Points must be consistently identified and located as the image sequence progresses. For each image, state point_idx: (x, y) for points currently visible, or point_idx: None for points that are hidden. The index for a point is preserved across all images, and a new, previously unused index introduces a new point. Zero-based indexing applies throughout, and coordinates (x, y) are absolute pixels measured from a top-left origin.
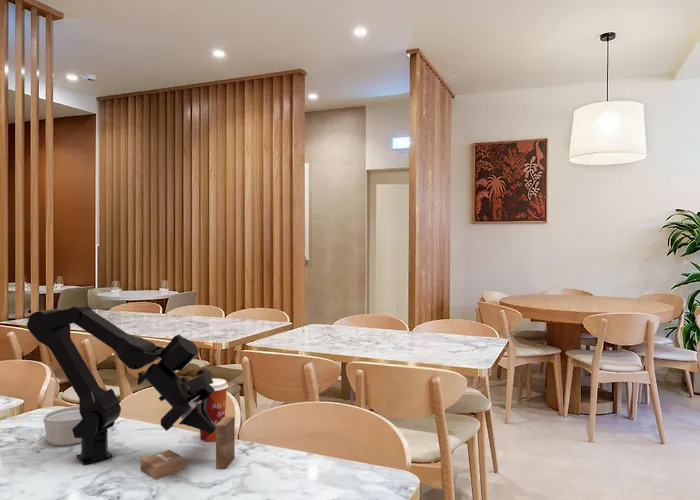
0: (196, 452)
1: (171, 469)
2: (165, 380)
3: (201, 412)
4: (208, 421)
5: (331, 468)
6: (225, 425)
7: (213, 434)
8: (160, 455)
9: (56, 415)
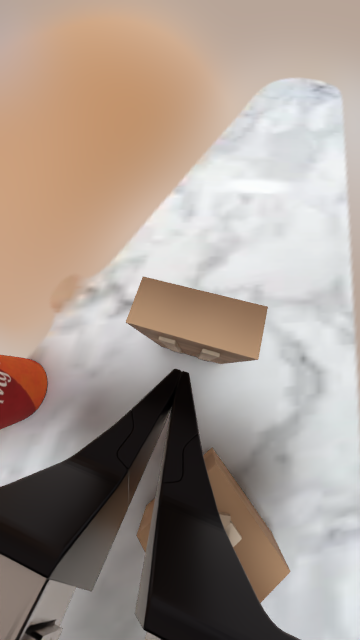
0: (108, 425)
1: (240, 492)
2: None
3: (172, 494)
4: (178, 408)
5: (245, 161)
6: (266, 309)
7: (32, 385)
8: None
9: None
